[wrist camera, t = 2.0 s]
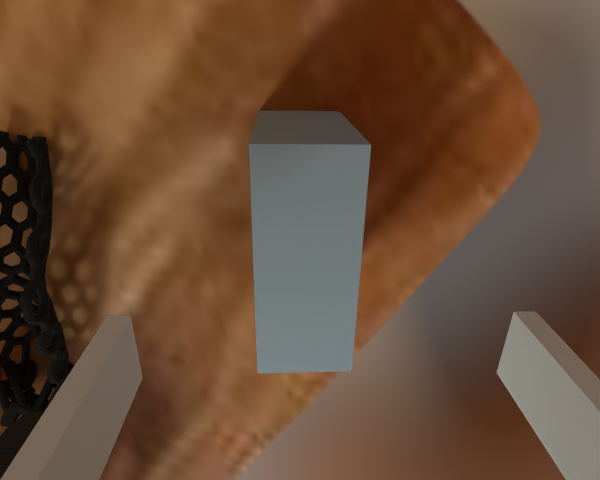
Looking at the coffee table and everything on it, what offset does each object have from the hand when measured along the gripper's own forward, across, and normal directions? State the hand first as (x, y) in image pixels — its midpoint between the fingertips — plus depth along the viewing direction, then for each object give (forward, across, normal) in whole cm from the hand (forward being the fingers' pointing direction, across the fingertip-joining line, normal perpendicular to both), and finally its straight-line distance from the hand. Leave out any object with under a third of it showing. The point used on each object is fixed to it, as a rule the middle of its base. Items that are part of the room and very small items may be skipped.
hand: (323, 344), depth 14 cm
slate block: (+15, 0, 0) cm, 15 cm away
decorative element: (+16, +19, +7) cm, 25 cm away
